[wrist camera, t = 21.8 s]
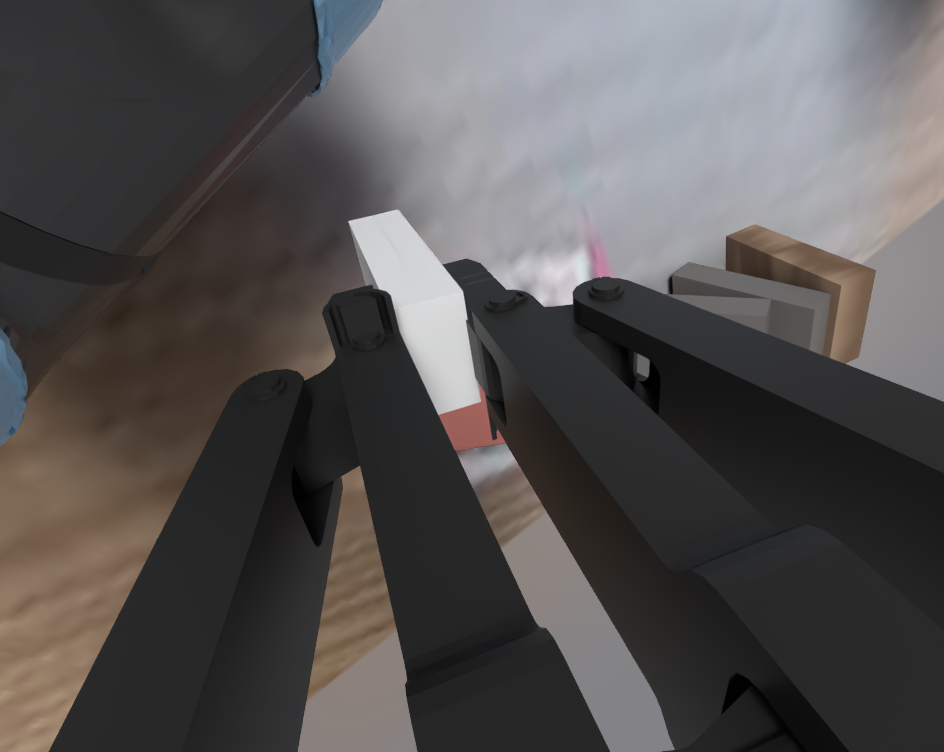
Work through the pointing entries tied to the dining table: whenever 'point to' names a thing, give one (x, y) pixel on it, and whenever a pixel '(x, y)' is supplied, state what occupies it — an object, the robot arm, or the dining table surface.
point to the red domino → (470, 426)
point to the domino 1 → (734, 309)
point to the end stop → (809, 281)
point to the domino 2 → (792, 307)
